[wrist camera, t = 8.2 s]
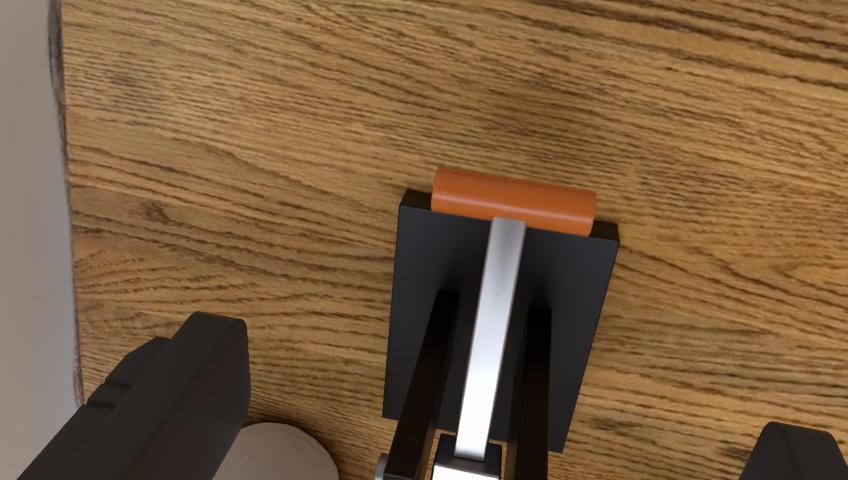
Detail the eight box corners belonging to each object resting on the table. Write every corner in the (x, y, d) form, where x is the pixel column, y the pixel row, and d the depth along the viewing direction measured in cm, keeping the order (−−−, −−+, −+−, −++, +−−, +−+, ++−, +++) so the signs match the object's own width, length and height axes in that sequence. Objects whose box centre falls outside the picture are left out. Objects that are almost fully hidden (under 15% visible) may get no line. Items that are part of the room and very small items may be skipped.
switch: (442, 165, 23) (433, 167, 20) (592, 189, 22) (601, 194, 20) (391, 495, 25) (378, 532, 22) (528, 525, 24) (529, 566, 22)
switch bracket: (406, 189, 29) (321, 364, 19) (617, 223, 28) (648, 428, 18) (388, 397, 35) (316, 615, 25) (562, 431, 34) (561, 673, 24)
